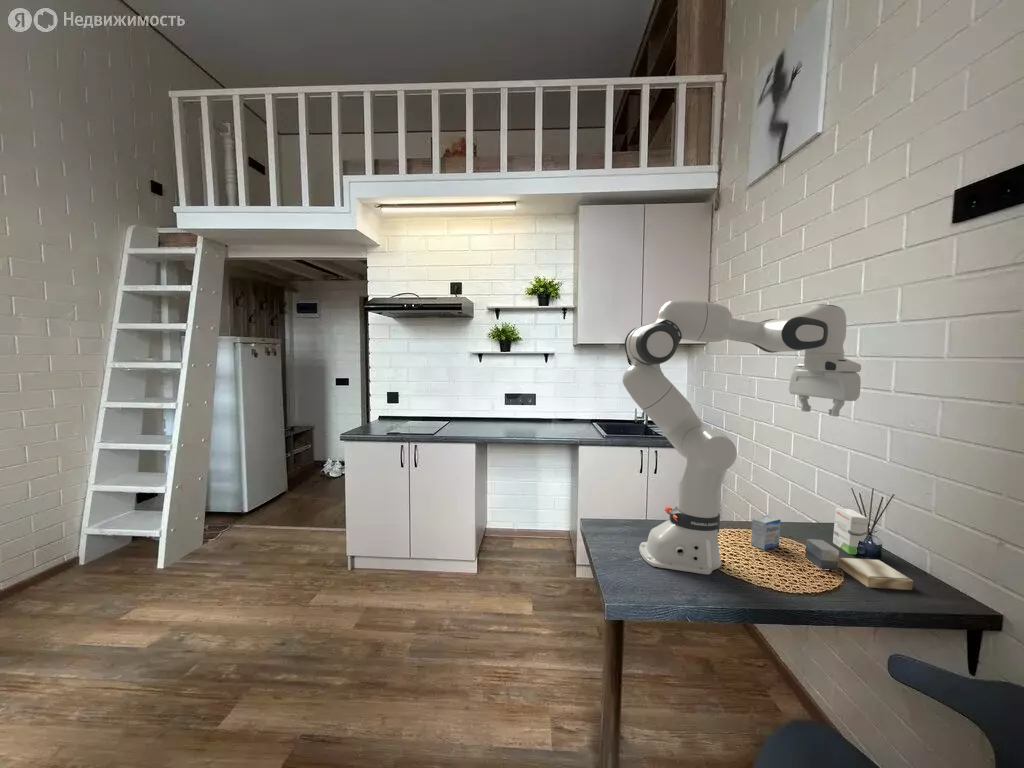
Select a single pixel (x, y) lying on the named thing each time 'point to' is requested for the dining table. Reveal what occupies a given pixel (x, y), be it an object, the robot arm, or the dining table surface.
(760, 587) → the dining table surface
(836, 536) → the ink box
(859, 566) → the plinth
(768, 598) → the dining table surface
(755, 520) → the medicine box
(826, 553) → the housing
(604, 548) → the dining table surface
